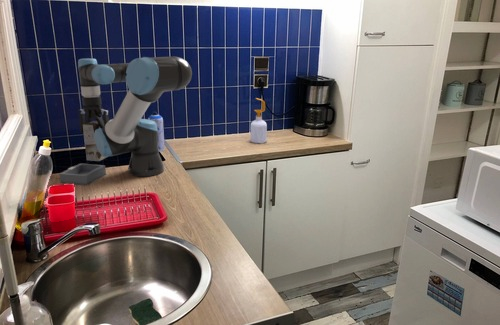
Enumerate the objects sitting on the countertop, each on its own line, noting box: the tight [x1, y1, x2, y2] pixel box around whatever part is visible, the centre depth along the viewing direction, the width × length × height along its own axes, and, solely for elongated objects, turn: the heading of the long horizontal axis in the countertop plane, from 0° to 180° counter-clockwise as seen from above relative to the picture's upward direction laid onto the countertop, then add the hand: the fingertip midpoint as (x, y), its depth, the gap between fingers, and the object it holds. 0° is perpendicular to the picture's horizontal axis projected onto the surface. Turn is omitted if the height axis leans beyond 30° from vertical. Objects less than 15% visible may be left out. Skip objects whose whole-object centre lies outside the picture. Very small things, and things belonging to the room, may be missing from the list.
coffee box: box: [82, 120, 107, 162], centre depth 180 cm, size 9×6×16 cm
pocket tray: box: [59, 162, 107, 186], centre depth 171 cm, size 12×14×4 cm
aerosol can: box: [147, 111, 166, 153], centre depth 211 cm, size 8×8×20 cm
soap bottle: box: [250, 97, 268, 144], centre depth 228 cm, size 9×9×25 cm
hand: (97, 148), depth 181 cm, fingers closed on coffee box, 6 cm apart
